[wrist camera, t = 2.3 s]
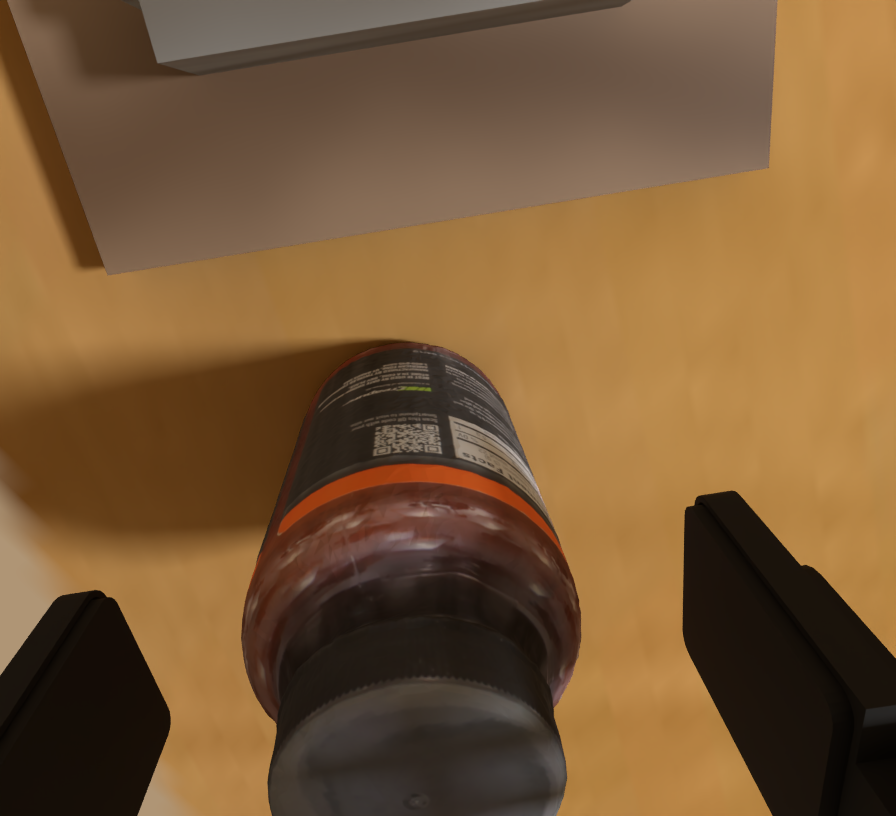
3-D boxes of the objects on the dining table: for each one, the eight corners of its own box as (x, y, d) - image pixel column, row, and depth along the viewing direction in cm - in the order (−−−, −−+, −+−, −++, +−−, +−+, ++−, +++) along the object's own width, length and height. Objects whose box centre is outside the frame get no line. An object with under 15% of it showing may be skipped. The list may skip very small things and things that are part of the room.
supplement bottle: (379, 549, 20) (351, 985, 10) (264, 403, 18) (70, 768, 8) (544, 459, 19) (705, 836, 9) (444, 294, 17) (502, 539, 7)
